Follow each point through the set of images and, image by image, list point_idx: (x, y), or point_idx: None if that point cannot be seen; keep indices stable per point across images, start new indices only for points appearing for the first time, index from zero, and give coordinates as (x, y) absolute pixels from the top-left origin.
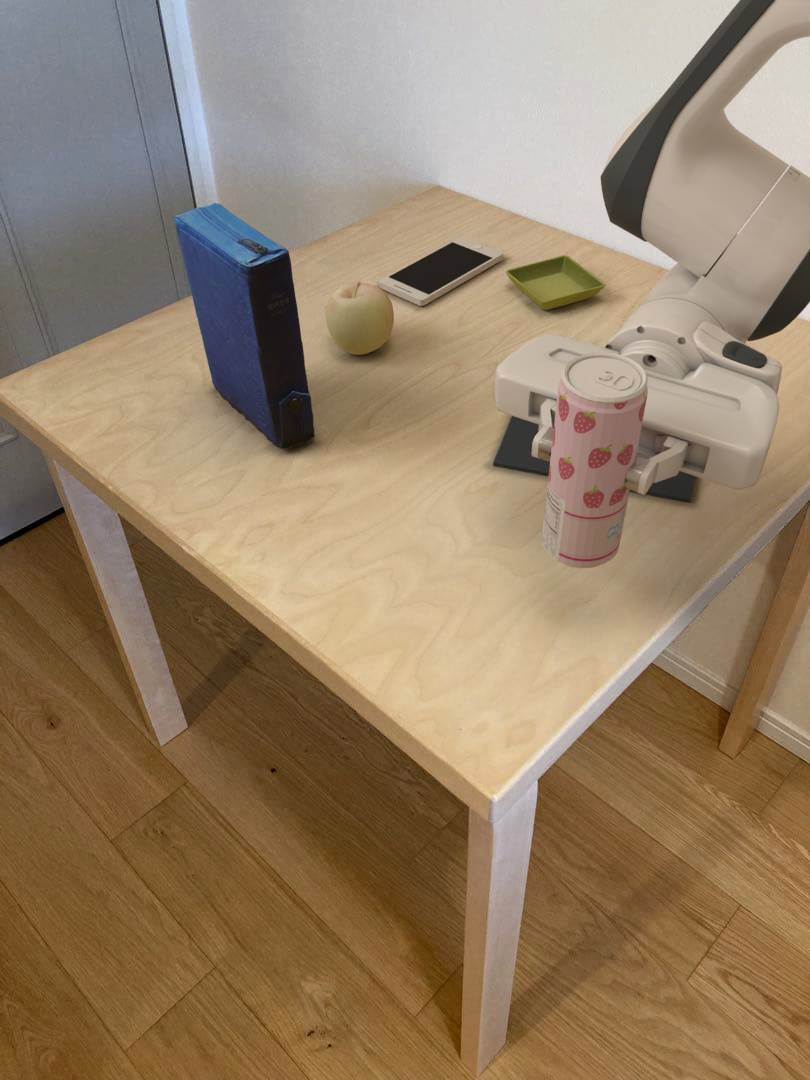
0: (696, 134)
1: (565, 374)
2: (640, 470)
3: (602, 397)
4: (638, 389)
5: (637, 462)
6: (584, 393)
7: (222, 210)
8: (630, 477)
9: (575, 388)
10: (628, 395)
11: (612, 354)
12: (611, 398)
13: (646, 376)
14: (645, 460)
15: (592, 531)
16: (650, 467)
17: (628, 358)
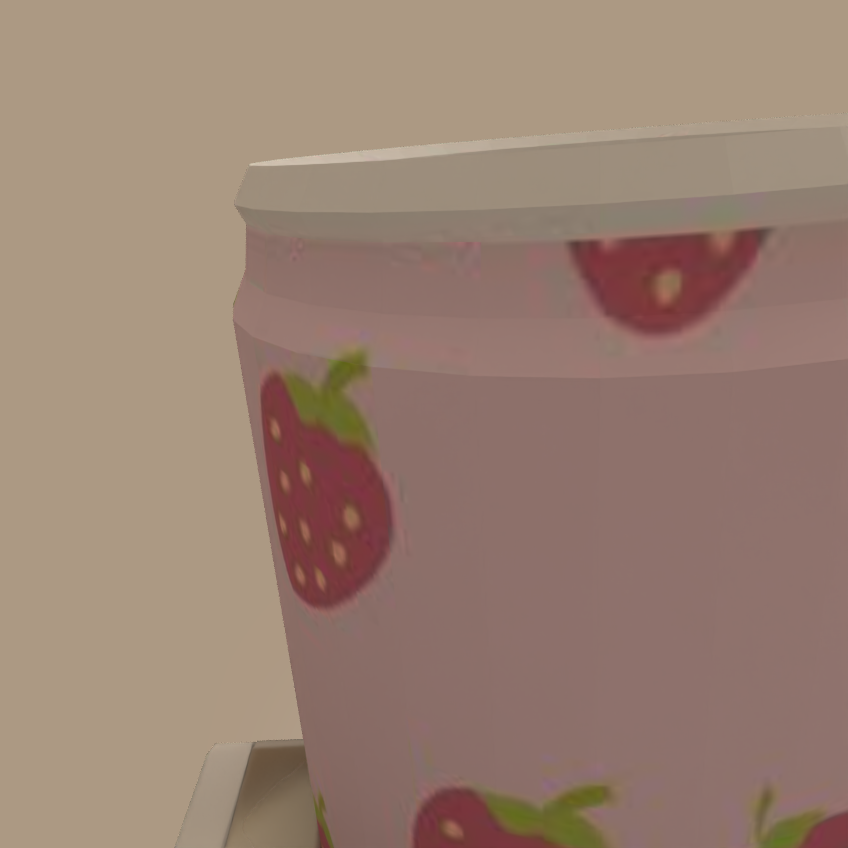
0: None
1: (803, 118)
2: (263, 754)
3: (461, 142)
4: (281, 162)
5: (297, 803)
6: (567, 136)
7: None
8: None
9: (639, 130)
10: (329, 157)
11: (811, 139)
12: (415, 153)
13: (255, 183)
14: (250, 843)
15: None
16: (207, 793)
17: (574, 157)
